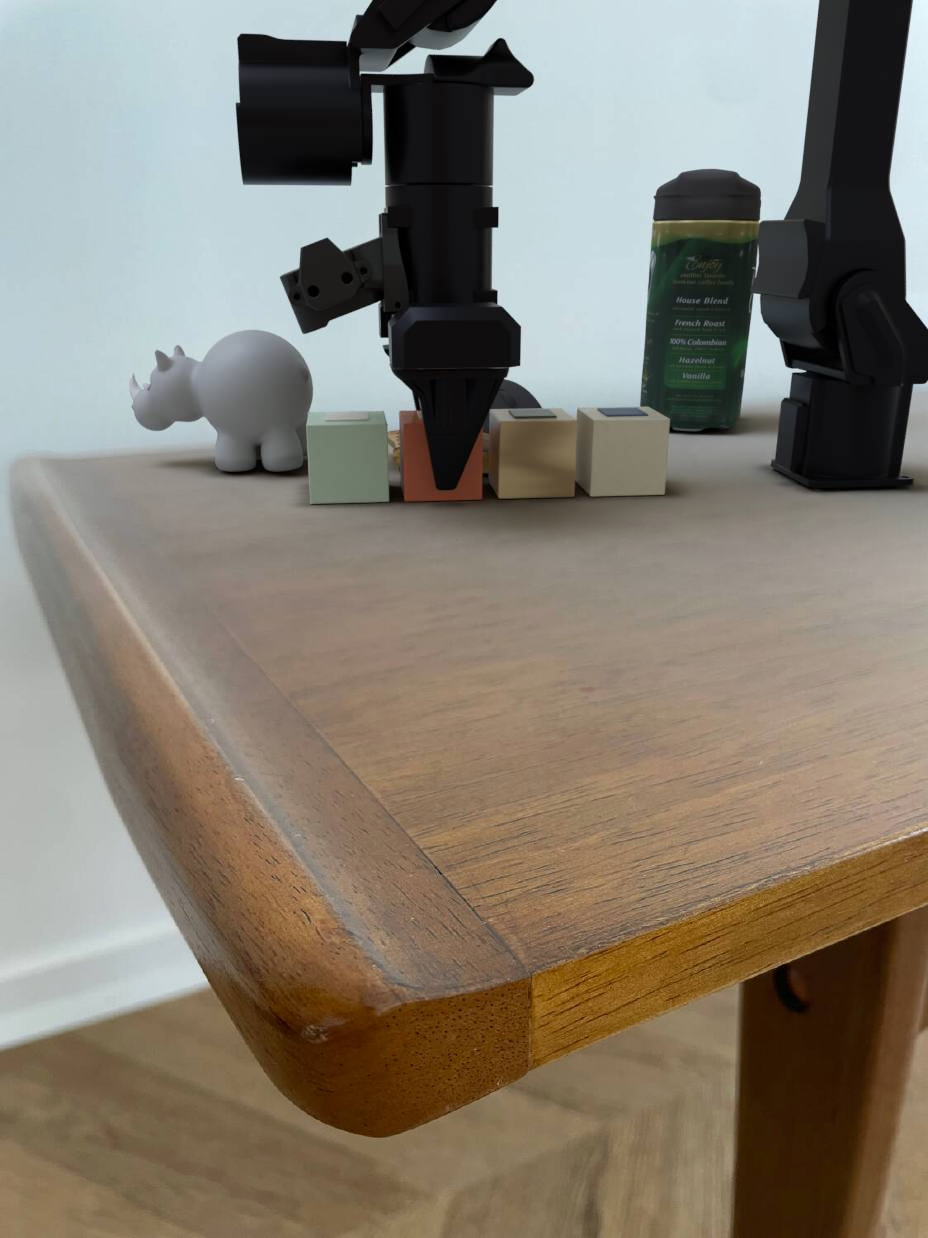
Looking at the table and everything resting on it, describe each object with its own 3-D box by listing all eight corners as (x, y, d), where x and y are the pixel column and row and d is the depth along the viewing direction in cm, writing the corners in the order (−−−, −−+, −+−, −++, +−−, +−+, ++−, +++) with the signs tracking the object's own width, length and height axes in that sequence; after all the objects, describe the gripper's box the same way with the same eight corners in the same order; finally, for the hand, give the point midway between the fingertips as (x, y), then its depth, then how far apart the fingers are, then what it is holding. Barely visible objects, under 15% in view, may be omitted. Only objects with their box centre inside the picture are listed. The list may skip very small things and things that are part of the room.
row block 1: (386, 484, 62) (384, 408, 61) (389, 502, 58) (387, 421, 57) (312, 486, 62) (308, 410, 60) (310, 504, 58) (305, 422, 56)
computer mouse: (484, 451, 72) (484, 392, 70) (408, 426, 81) (407, 374, 79) (558, 442, 75) (560, 386, 73) (478, 419, 84) (478, 369, 82)
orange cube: (473, 482, 63) (473, 407, 61) (482, 499, 59) (482, 419, 57) (400, 484, 62) (398, 408, 61) (404, 501, 58) (403, 421, 57)
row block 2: (559, 480, 63) (562, 405, 62) (574, 497, 59) (577, 418, 58) (488, 482, 63) (489, 407, 61) (498, 499, 59) (499, 419, 57)
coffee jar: (742, 436, 77) (768, 164, 71) (635, 431, 79) (651, 165, 72) (739, 415, 86) (762, 171, 80) (643, 411, 88) (657, 173, 81)
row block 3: (644, 478, 64) (648, 404, 62) (665, 495, 60) (670, 416, 58) (574, 479, 63) (577, 405, 62) (590, 496, 59) (593, 418, 58)
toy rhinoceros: (161, 451, 72) (148, 323, 69) (330, 456, 70) (324, 325, 67) (114, 473, 65) (97, 333, 62) (299, 479, 63) (291, 336, 60)
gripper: (292, 192, 63) (305, 449, 68) (274, 176, 45) (294, 523, 51) (475, 193, 64) (474, 446, 69) (526, 178, 46) (519, 517, 52)
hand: (440, 477), depth 60 cm, fingers open, 6 cm apart
